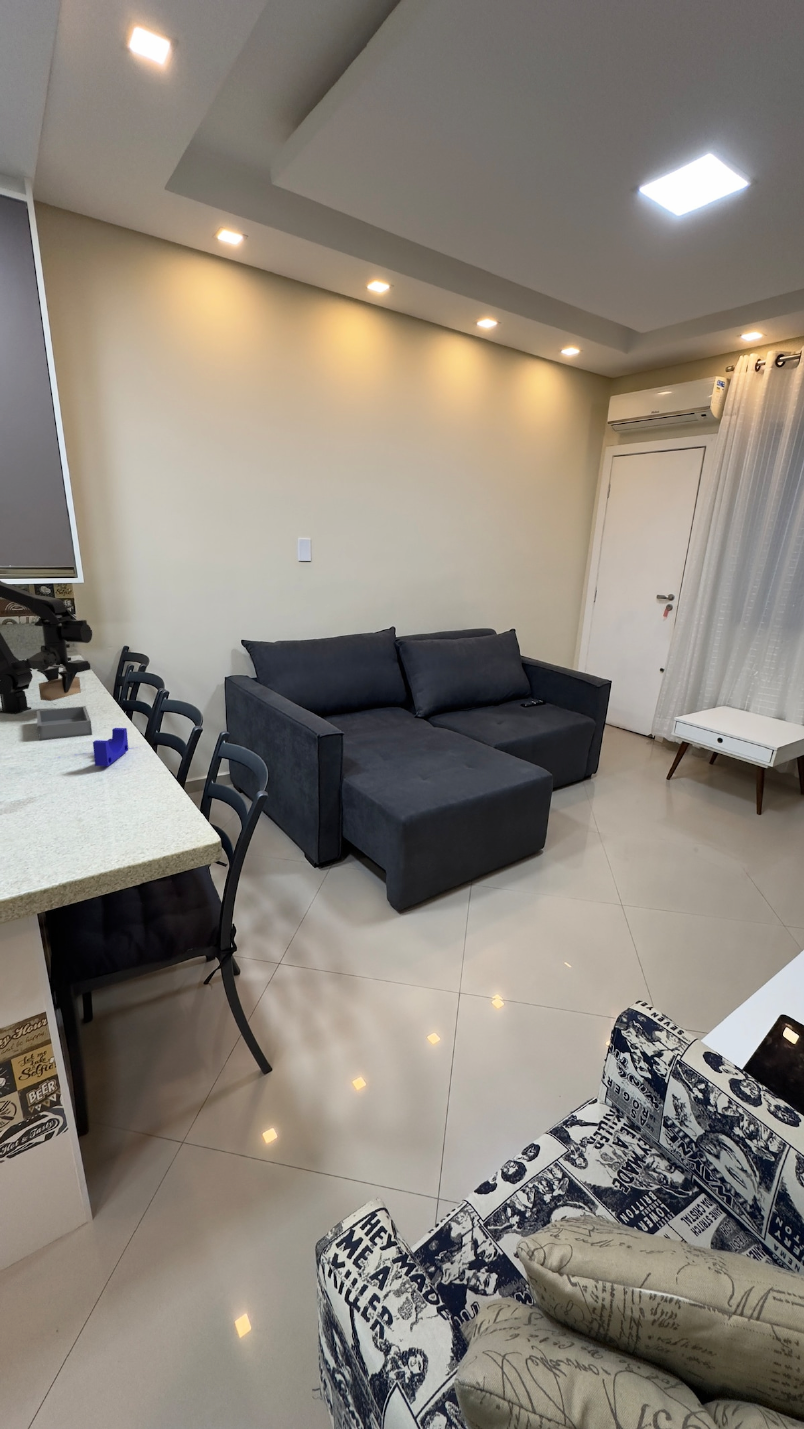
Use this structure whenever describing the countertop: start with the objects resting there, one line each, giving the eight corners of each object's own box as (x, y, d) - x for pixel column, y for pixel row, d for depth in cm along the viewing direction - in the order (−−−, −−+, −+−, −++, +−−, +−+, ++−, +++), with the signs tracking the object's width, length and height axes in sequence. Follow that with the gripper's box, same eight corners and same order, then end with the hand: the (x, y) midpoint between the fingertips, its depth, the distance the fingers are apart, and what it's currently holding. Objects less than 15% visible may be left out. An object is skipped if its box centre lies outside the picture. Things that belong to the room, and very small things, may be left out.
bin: (38, 723, 171) (36, 710, 170) (86, 718, 178) (85, 706, 177) (39, 740, 157) (37, 726, 156) (92, 734, 163) (90, 721, 162)
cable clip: (111, 749, 153) (108, 727, 151) (128, 750, 153) (126, 728, 152) (88, 765, 141) (86, 742, 140) (107, 766, 142) (105, 742, 140)
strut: (40, 699, 174) (38, 681, 173) (71, 691, 186) (69, 674, 184) (50, 701, 174) (48, 682, 172) (80, 692, 185) (79, 675, 184)
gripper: (5, 642, 170) (13, 695, 174) (60, 647, 166) (66, 700, 170) (37, 637, 180) (43, 687, 184) (89, 642, 176) (94, 692, 180)
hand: (60, 692), depth 179 cm, fingers closed on strut, 4 cm apart
